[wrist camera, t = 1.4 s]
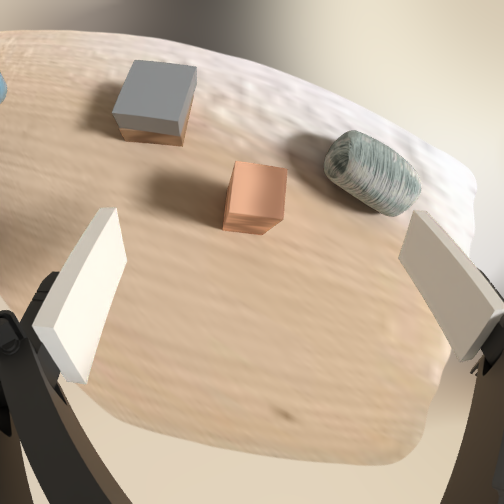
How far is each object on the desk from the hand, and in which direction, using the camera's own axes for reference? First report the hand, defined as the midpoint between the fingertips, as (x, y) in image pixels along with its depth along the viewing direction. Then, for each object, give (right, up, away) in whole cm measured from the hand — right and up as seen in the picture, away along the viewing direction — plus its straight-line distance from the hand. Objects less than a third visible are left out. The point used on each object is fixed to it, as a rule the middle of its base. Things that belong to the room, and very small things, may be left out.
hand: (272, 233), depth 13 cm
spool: (+15, +9, +30) cm, 35 cm away
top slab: (-13, +18, +23) cm, 31 cm away
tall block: (-2, +4, +27) cm, 27 cm away
